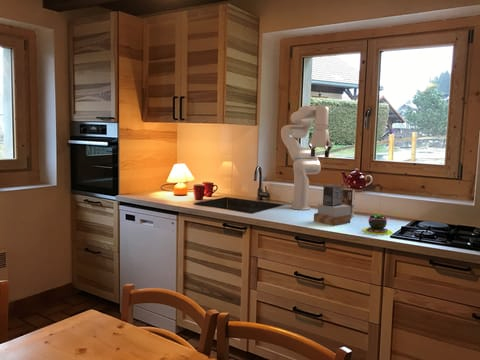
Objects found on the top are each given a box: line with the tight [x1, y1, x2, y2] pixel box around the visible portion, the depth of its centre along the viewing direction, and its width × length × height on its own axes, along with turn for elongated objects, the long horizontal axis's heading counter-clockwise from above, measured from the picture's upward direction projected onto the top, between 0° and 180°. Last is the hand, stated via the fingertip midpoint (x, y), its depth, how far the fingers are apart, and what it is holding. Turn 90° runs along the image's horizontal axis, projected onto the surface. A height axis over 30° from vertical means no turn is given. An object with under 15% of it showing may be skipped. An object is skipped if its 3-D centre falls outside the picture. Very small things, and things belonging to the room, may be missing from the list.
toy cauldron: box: [361, 209, 394, 236], centre depth 221 cm, size 15×15×11 cm
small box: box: [322, 184, 344, 207], centre depth 240 cm, size 11×6×10 cm, turn 138°
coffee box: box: [342, 188, 356, 219], centre depth 259 cm, size 9×6×16 cm
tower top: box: [317, 203, 350, 217], centre depth 240 cm, size 12×12×5 cm
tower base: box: [313, 212, 352, 227], centre depth 241 cm, size 14×14×5 cm
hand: (319, 157), depth 259 cm, fingers open, 9 cm apart
